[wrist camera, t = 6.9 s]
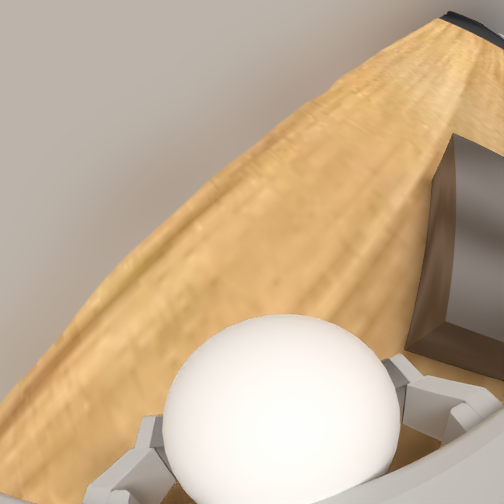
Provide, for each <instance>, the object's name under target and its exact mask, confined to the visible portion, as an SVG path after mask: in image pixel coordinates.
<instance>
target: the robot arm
mask: <svg viewBox="0 0 504 504" xmlns="http://www.w3.org/2000/svg"><path fill="white" fill-rule="evenodd" d="M381 363H382V364H383V365H384V366H385V368H386V370H387V372H388V374H389V376H390V378H391V380H392V382H393V384H394V387H395V390H396V394H397V398H398V403H399V407H400V424H401V423H403V424H404V425H406V426H408V427H410V428H412V429H415V430H417V431H419V432H421V433H423V434H426V435H428V436H430V437H432V438H435V439H437V440H439V441H442V443H441V446H440V448H439V449H438V450H436V451H434V452H432V453H430V454H428V455H426V456H424V457H423V458H421V459H419V460H417V461H415V462H413V463H410V464H408V465H406V466H404V467H402V468H400V469H398V470H395V471H393V472H391V473H389V474H386V475H384V476H382V477H379V478H377V479H374V480H372V481H369V482H367V483H364V484H361V485H358V486H356V487H353V488H350V489H348V490H346V491H343V492H341V493H339V494H336V495H334V496H331V497H329V498H326V499H323V500H320V501H317V502H314V503H311V504H504V404H502V403H501V402H500V401H499V400H498V399H497V398H496V397H495V396H494V395H493V394H491V393H490V392H489V391H488V390H487V389H486V388H485V387H480V386H475V385H470V384H465V383H461V382H456V381H451V380H447V379H442V378H438V377H434V376H429V375H427V376H425V377H424V376H423V375H422V374H421V373H420V372H419V371H418V370H417V369H416V368H415V367H414V366H413V365H412V364H411V363H410V362H409V361H408V360H407V359H406V358H405V357H404V356H403V355H402V354H400V353H398V354H396V355H393V356H391V357H388V358H387V359H384V360H382V361H381ZM162 427H163V414H159V415H150V416H144V417H143V418H142V421H141V425H140V429H139V432H138V436H137V440H136V444H135V448H134V449H130V450H129V451H128V452H127V453H125V454H124V455H123V456H122V457H121V458H120V459H119V460H118V461H116V462H115V463H114V464H113V465H112V466H111V467H110V468H109V469H107V470H106V471H105V472H104V473H103V474H102V475H100V476H99V477H98V478H97V479H96V480H95V481H93V482H92V483H91V484H90V485H89V486H88V487H87V490H86V493H85V496H84V499H83V503H82V504H160V503H161V501H162V500H163V499H164V497H165V496H166V495H167V493H168V492H169V490H170V489H171V488H172V486H173V485H174V483H175V482H176V479H177V478H176V477H175V475H174V473H173V471H172V469H171V466H170V464H169V461H168V458H167V455H166V453H165V447H164V440H163V433H162ZM0 504H37V503H33V502H29V501H26V500H22V499H19V498H16V497H13V496H10V495H7V494H4V493H1V492H0Z"/></svg>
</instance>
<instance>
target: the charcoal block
mask: <svg viewBox="0 0 504 504" xmlns="http://www.w3.org/2000/svg"><path fill="white" fill-rule="evenodd" d="M404 350H407V351H410V352H413V353H416V354H419V355H422V356H425V357H428V358H431V359H435V360H438V361H441V362H444V363H447V364H450V365H453V366H456V367H460V368H463V369H466V370H469V371H472V372H476V373H479V374H482V375H486V376H489V377H492V378H496V379H499V380H503V381H504V157H503V156H501V155H499V154H497V153H495V152H493V151H491V150H489V149H487V148H485V147H483V146H481V145H479V144H477V143H475V142H472V141H470V140H468V139H466V138H464V137H461V136H459V135H457V134H454V133H453V134H452V136H451V139H450V141H449V144H448V146H447V148H446V151H445V153H444V155H443V157H442V160H441V162H440V164H439V166H438V169H437V171H436V173H435V175H434V177H433V179H432V192H431V204H430V215H429V225H428V233H427V241H426V248H425V255H424V262H423V268H422V273H421V279H420V284H419V290H418V295H417V299H416V304H415V309H414V313H413V318H412V322H411V326H410V330H409V334H408V338H407V341H406V345H405V349H404Z"/></svg>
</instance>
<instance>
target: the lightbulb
mask: <svg viewBox="0 0 504 504" xmlns="http://www.w3.org/2000/svg"><path fill="white" fill-rule="evenodd" d="M162 433H163V440H164V447H165V453H166V455H167V458H168V461H169V464H170V466H171V469H172V471H173V473H174V475H175V477H176V478H177V480H178V481H179V483H180V484H181V486H182V487H183V489H184V490H185V492H186V493H187V494H188V495H189V496H190V497H191V498H192V499H193V500H194V501H195V502H196V503H197V504H311V503H314V502H317V501H320V500H323V499H326V498H329V497H331V496H334V495H336V494H339V493H341V492H343V491H346V490H348V489H350V488H353V487H356V486H358V485H361V484H364V483H367V482H369V481H372V480H374V479H377V478H379V477H382V476H384V475H385V474H386V473H387V471H388V469H389V467H390V464H391V462H392V460H393V457H394V455H395V452H396V449H397V444H398V439H399V433H400V407H399V403H398V398H397V394H396V390H395V387H394V384H393V382H392V380H391V378H390V376H389V374H388V372H387V370H386V368H385V366H384V365H383V364H382V363H381V361H380V360H379V359H378V357H377V356H376V355H375V353H374V352H373V351H372V350H371V349H370V348H369V347H368V346H366V345H365V344H364V343H363V342H362V341H361V340H360V339H358V338H357V337H356V336H355V335H353V334H351V333H349V332H348V331H346V330H344V329H343V328H341V327H339V326H337V325H335V324H332V323H329V322H326V321H324V320H321V319H318V318H314V317H308V316H302V315H296V314H272V315H267V316H261V317H256V318H250V319H247V320H245V321H242V322H240V323H237V324H234V325H231V326H229V327H227V328H225V329H224V330H222V331H220V332H219V333H217V334H215V335H214V336H212V337H210V338H209V339H208V340H207V341H205V342H204V343H203V344H202V345H201V346H200V347H199V348H197V349H196V350H195V351H194V352H193V353H192V354H191V355H190V357H189V358H188V359H187V361H186V362H185V363H184V364H183V366H182V367H181V368H180V369H179V371H178V373H177V375H176V377H175V379H174V381H173V383H172V385H171V387H170V389H169V392H168V396H167V399H166V403H165V407H164V412H163V427H162Z"/></svg>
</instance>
